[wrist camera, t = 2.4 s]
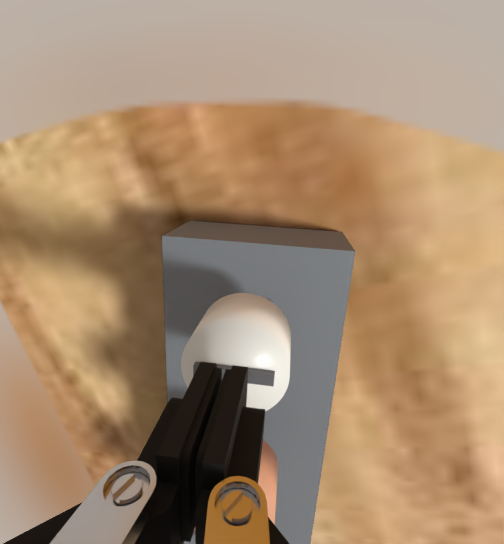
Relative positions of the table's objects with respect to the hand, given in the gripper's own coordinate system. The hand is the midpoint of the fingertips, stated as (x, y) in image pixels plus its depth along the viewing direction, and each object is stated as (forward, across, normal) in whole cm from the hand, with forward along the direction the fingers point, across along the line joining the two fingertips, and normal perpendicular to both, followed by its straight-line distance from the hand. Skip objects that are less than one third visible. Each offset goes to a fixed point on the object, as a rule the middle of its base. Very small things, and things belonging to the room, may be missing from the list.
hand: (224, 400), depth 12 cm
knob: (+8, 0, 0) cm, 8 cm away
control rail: (+12, 0, +8) cm, 15 cm away
